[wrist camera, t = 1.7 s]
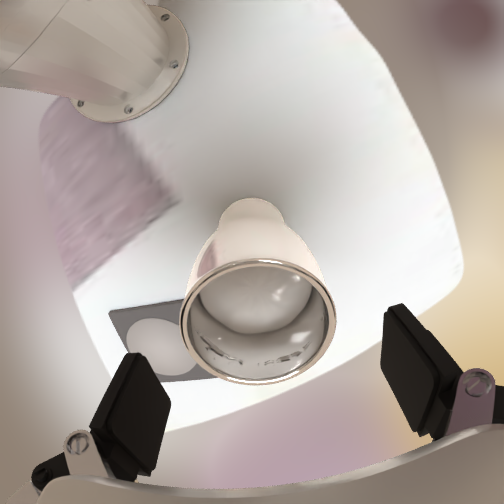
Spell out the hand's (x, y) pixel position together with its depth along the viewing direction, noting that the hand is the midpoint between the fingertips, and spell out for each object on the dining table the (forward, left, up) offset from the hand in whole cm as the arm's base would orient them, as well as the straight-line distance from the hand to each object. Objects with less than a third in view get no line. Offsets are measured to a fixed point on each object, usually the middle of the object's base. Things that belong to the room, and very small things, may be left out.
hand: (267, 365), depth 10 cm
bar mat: (+11, -8, -17) cm, 21 cm away
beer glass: (0, 0, -17) cm, 17 cm away
